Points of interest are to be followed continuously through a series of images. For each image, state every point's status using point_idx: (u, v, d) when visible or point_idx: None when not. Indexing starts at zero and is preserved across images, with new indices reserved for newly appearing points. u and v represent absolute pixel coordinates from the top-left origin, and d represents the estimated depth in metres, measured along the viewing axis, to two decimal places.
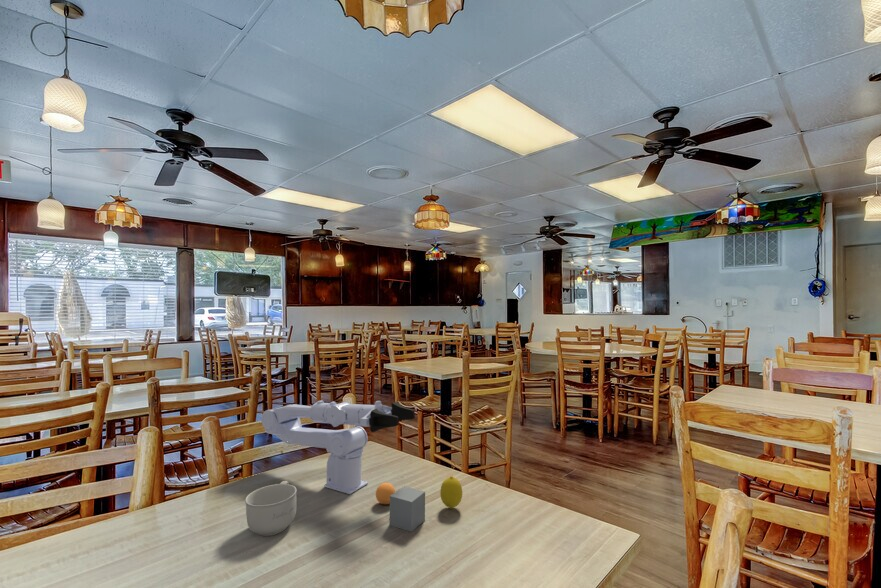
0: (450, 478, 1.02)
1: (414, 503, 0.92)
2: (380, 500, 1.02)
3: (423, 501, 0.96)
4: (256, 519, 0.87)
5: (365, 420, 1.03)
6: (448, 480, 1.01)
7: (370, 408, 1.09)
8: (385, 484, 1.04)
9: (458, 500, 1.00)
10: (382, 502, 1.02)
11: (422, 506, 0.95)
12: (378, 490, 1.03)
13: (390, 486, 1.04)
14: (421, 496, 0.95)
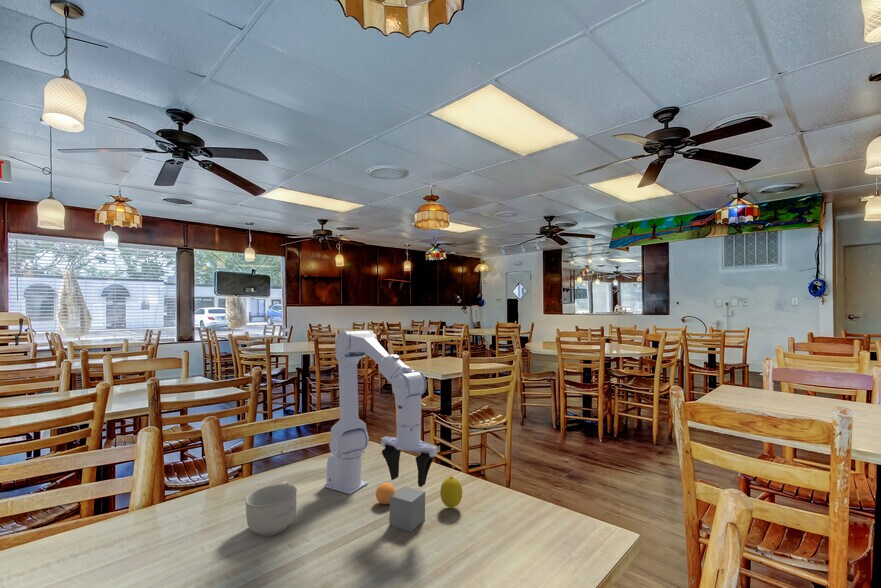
0: (450, 478, 1.02)
1: (414, 503, 0.92)
2: (380, 500, 1.02)
3: (423, 501, 0.96)
4: (256, 519, 0.87)
5: None
6: (448, 480, 1.01)
7: (397, 439, 0.95)
8: (385, 484, 1.04)
9: (458, 500, 1.00)
10: (382, 502, 1.02)
11: (422, 506, 0.95)
12: (378, 490, 1.03)
13: (390, 486, 1.04)
14: (421, 496, 0.95)
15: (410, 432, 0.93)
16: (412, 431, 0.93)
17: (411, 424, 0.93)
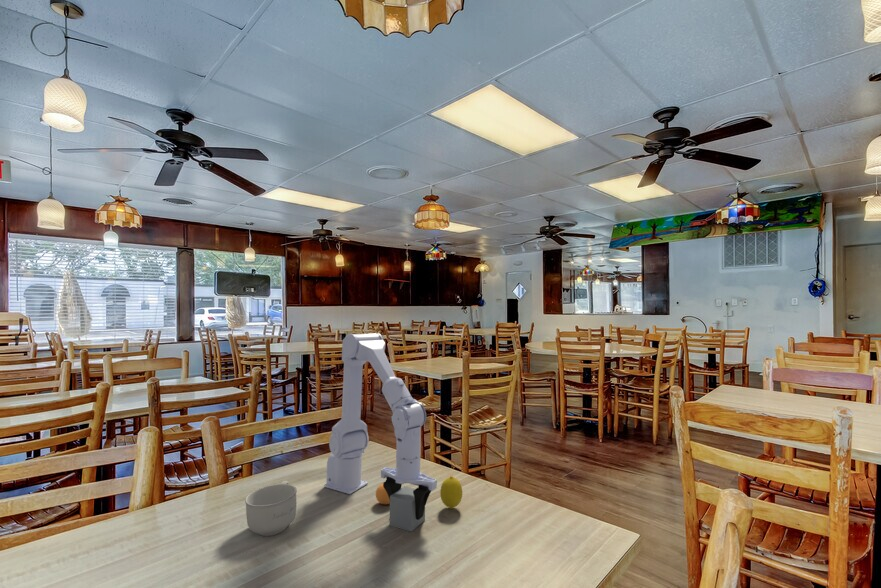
0: (450, 478, 1.02)
1: (414, 503, 0.92)
2: (380, 500, 1.02)
3: None
4: (256, 519, 0.87)
5: None
6: (448, 480, 1.01)
7: (396, 471, 0.94)
8: None
9: (458, 500, 1.00)
10: (382, 502, 1.02)
11: None
12: (378, 490, 1.03)
13: None
14: None
15: (410, 465, 0.93)
16: (412, 464, 0.93)
17: (411, 457, 0.93)
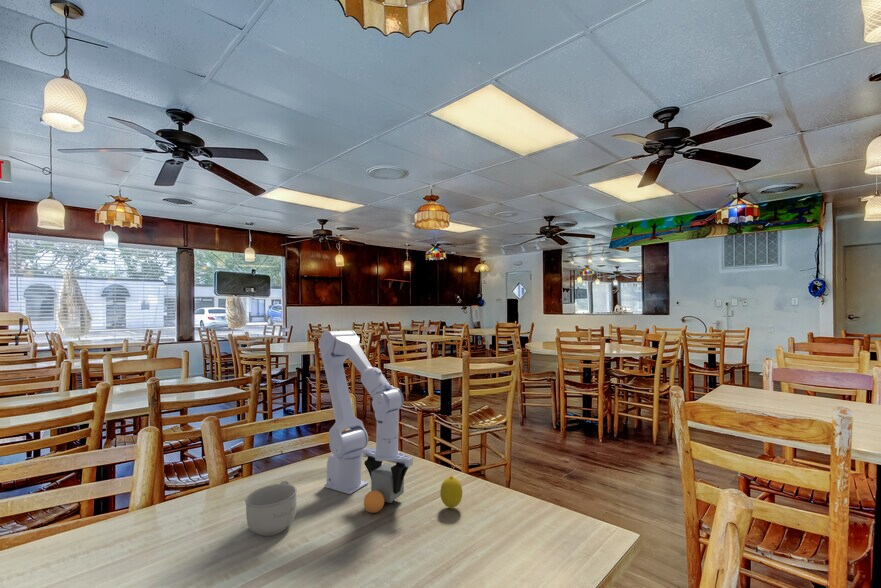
0: (450, 478, 1.02)
1: None
2: None
3: None
4: (256, 519, 0.87)
5: None
6: (448, 480, 1.01)
7: (376, 450, 1.04)
8: (369, 510, 0.98)
9: (458, 500, 1.00)
10: None
11: None
12: None
13: (374, 509, 0.98)
14: None
15: (388, 444, 1.02)
16: (390, 443, 1.03)
17: (390, 437, 1.03)
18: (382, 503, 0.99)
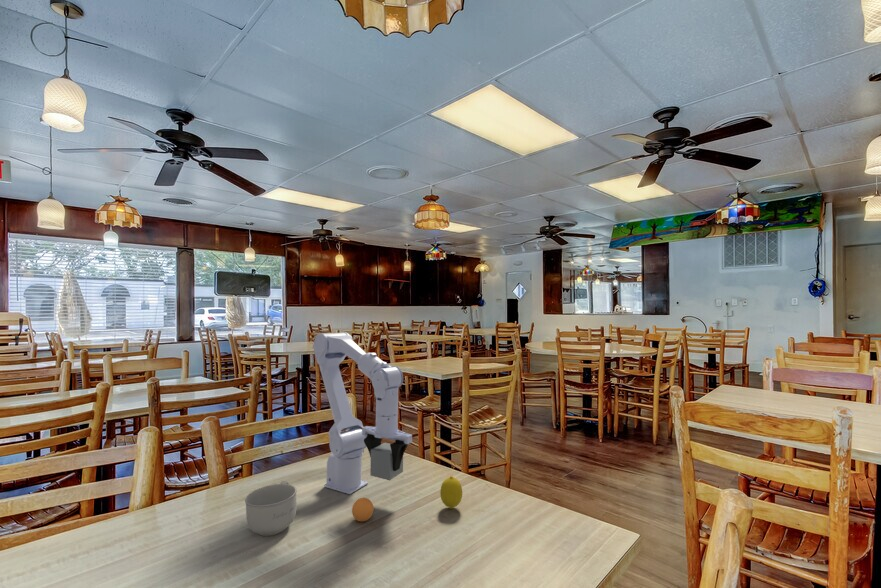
0: (450, 478, 1.02)
1: None
2: (366, 498, 0.97)
3: None
4: (256, 519, 0.87)
5: None
6: (448, 480, 1.01)
7: (376, 428, 1.04)
8: None
9: (458, 500, 1.00)
10: (366, 498, 0.97)
11: None
12: None
13: None
14: None
15: (387, 422, 1.02)
16: (389, 421, 1.03)
17: (389, 414, 1.03)
18: (371, 511, 0.95)
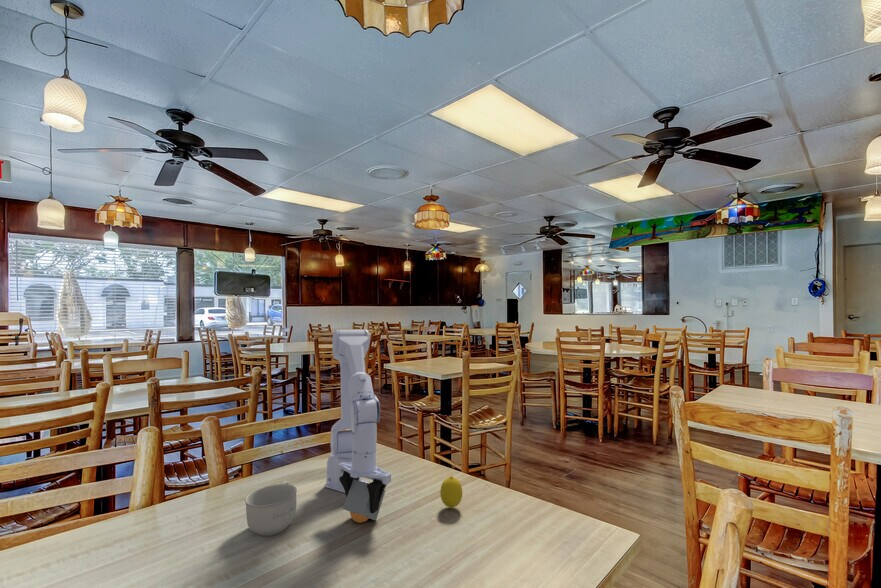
0: (450, 478, 1.02)
1: None
2: None
3: (381, 498, 0.98)
4: (256, 519, 0.87)
5: None
6: (448, 480, 1.01)
7: (352, 465, 0.96)
8: None
9: (458, 500, 1.00)
10: None
11: None
12: None
13: None
14: None
15: (364, 460, 0.94)
16: (366, 458, 0.94)
17: (361, 452, 0.94)
18: None
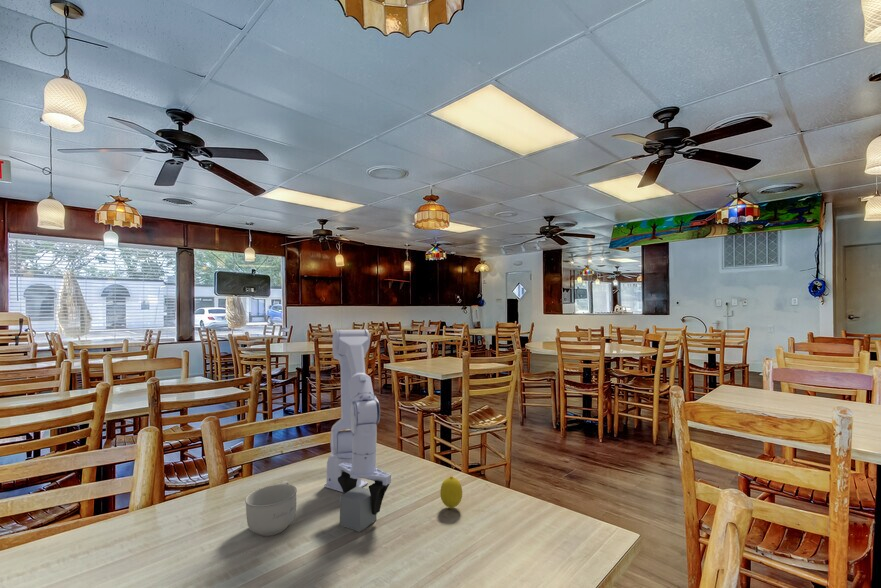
0: (450, 478, 1.02)
1: (364, 503, 0.92)
2: None
3: None
4: (256, 519, 0.87)
5: None
6: (448, 480, 1.01)
7: (352, 466, 0.96)
8: None
9: (458, 500, 1.00)
10: None
11: None
12: None
13: None
14: None
15: (364, 460, 0.94)
16: (366, 459, 0.94)
17: (361, 453, 0.94)
18: None
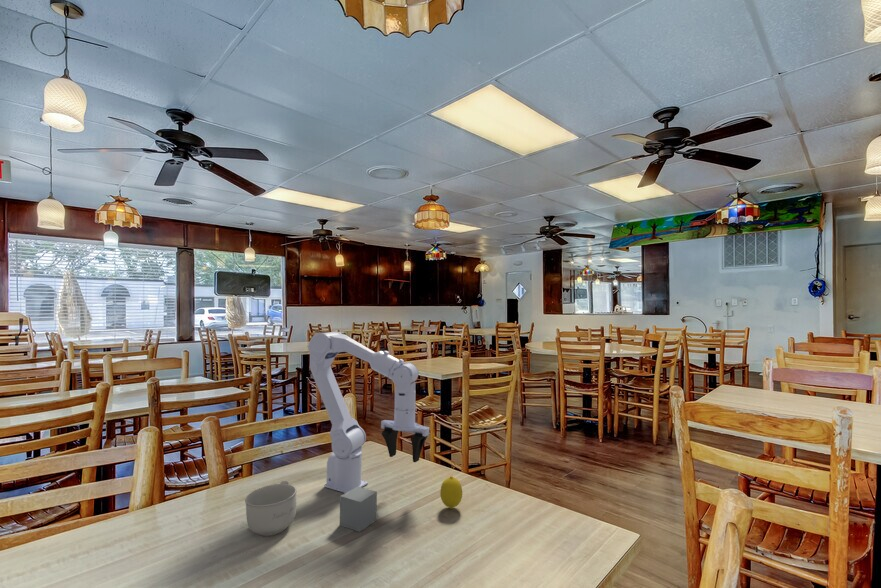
0: (450, 478, 1.02)
1: (364, 503, 0.92)
2: None
3: (374, 501, 0.96)
4: (256, 519, 0.87)
5: None
6: (448, 480, 1.01)
7: (395, 421, 1.09)
8: None
9: (458, 500, 1.00)
10: None
11: (373, 506, 0.95)
12: None
13: None
14: (372, 496, 0.95)
15: (406, 415, 1.08)
16: (407, 414, 1.08)
17: (412, 407, 1.09)
18: None
